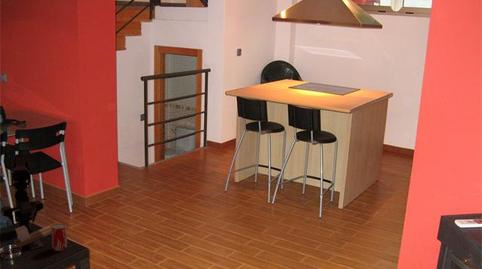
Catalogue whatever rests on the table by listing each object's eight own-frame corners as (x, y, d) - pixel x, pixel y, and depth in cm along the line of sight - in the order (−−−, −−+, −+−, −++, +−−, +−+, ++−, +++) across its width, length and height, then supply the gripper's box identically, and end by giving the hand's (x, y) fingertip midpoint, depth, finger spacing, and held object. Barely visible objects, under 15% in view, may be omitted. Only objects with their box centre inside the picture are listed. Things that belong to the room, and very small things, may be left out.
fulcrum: (26, 243, 261) (25, 237, 260) (38, 241, 264) (38, 234, 264) (31, 249, 255) (31, 242, 254) (43, 246, 258) (43, 240, 258)
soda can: (62, 252, 252) (61, 229, 250) (49, 251, 254) (48, 228, 251) (70, 246, 259) (69, 224, 257) (57, 245, 260) (56, 222, 258)
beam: (14, 243, 256) (13, 240, 255) (49, 228, 266) (49, 225, 265) (18, 247, 251) (17, 245, 251) (54, 232, 261) (53, 229, 261)
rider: (18, 239, 256) (15, 229, 254) (27, 235, 258) (24, 225, 256) (21, 242, 252) (17, 232, 250) (30, 238, 255) (27, 228, 253)
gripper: (6, 203, 238) (8, 234, 242) (47, 195, 250) (48, 225, 253) (-1, 196, 246) (1, 226, 250) (38, 189, 258) (40, 218, 262)
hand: (23, 224), depth 253 cm, fingers open, 9 cm apart
